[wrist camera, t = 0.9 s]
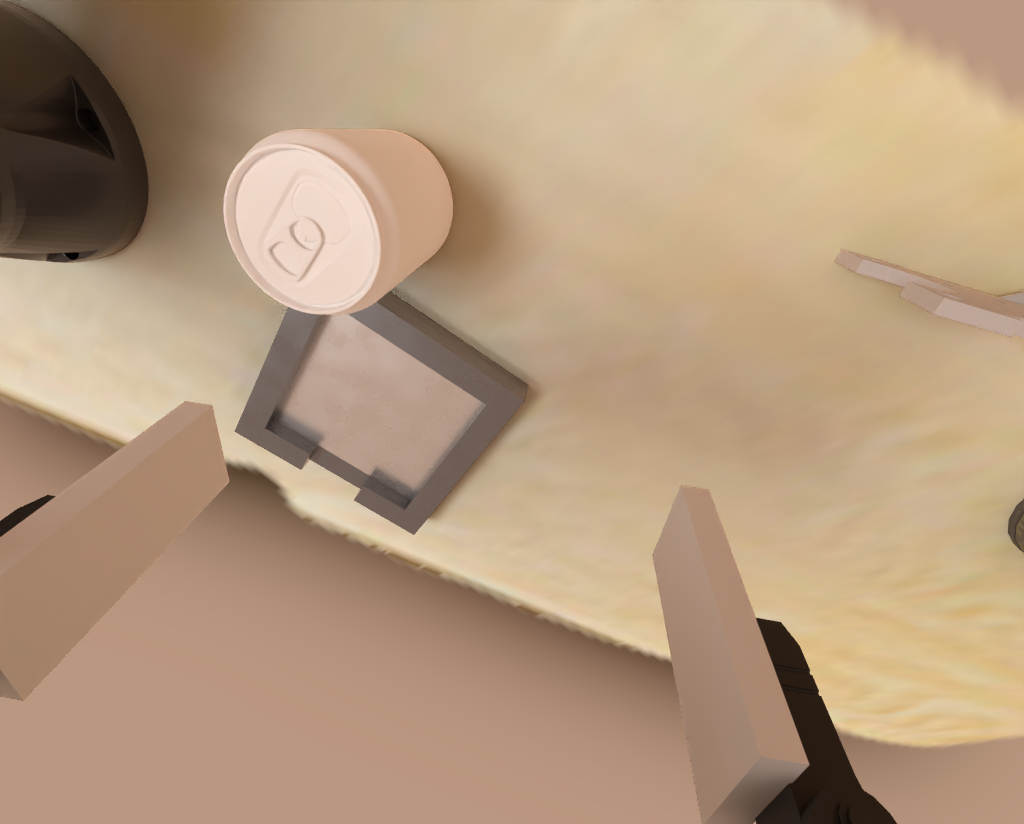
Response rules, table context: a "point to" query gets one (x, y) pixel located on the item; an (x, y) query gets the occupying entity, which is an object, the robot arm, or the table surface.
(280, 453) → the chassis pocket
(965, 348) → the table surface
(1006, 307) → the bracket
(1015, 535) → the thermos
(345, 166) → the beverage can
